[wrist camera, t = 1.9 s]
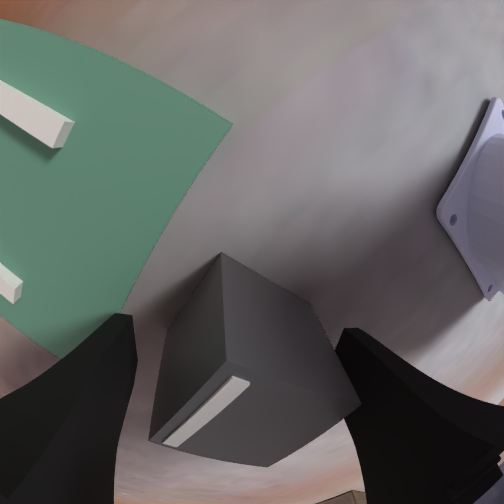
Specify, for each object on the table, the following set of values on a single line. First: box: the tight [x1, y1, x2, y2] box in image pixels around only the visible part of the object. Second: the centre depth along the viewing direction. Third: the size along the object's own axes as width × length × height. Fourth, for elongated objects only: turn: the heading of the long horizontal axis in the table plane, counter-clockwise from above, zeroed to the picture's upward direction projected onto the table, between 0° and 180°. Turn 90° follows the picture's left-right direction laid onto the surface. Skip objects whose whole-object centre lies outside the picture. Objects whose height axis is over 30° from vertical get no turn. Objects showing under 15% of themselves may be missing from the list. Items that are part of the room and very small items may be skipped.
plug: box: [148, 252, 362, 467], centre depth 8 cm, size 4×4×5 cm
